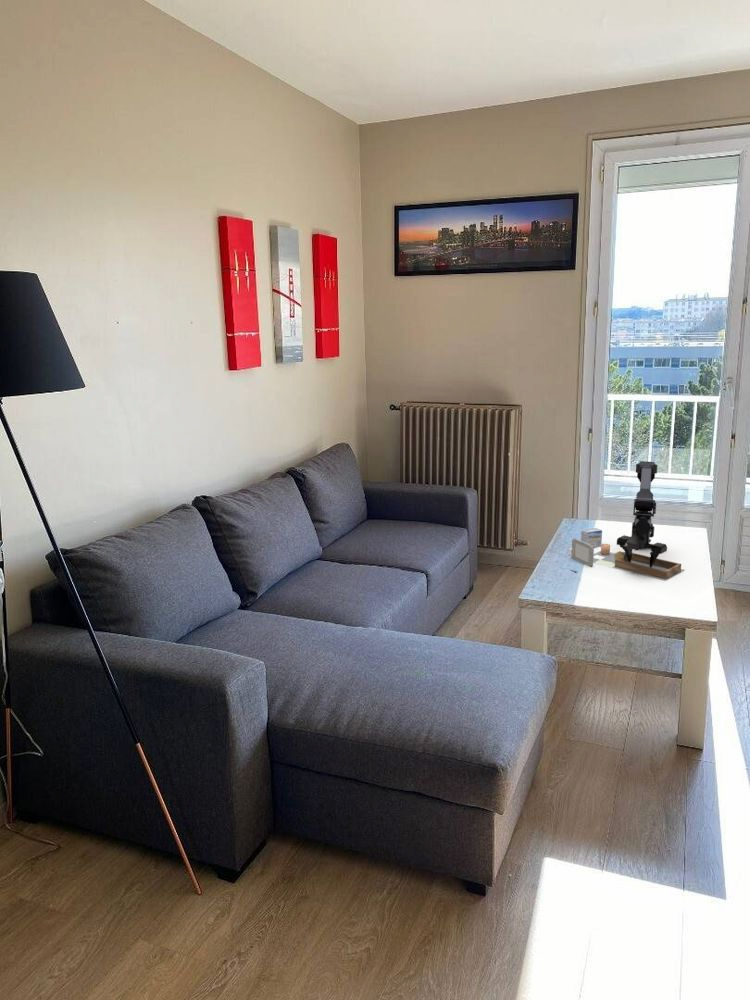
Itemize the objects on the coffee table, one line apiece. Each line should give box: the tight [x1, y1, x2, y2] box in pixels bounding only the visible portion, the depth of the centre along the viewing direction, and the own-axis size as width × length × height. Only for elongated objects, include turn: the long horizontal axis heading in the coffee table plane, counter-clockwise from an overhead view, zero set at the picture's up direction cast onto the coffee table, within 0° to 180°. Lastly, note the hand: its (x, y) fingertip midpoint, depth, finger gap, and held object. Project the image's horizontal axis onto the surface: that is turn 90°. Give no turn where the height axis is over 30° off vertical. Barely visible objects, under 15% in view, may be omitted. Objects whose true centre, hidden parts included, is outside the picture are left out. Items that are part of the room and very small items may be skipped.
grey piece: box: [570, 538, 595, 573], centre depth 306 cm, size 13×9×10 cm
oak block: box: [614, 551, 628, 563], centre depth 306 cm, size 4×4×4 cm
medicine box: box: [580, 527, 603, 549], centre depth 328 cm, size 8×4×9 cm, turn 112°
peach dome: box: [600, 543, 611, 555], centre depth 317 cm, size 4×4×4 cm
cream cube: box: [568, 546, 572, 557], centre depth 318 cm, size 4×4×4 cm
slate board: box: [593, 550, 686, 582], centre depth 304 cm, size 17×36×1 cm, turn 44°
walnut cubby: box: [615, 552, 682, 580], centre depth 299 cm, size 13×21×3 cm, turn 44°
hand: (640, 564), depth 301 cm, fingers open, 9 cm apart
